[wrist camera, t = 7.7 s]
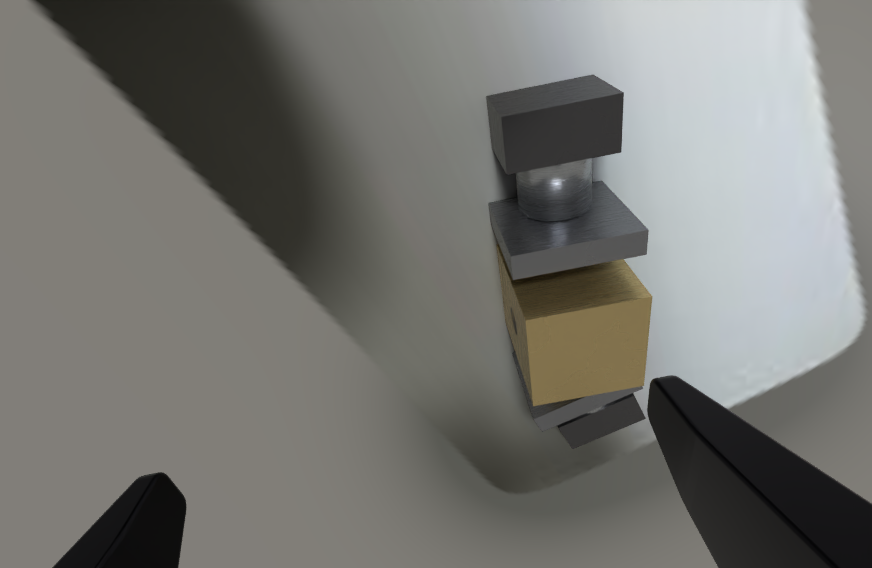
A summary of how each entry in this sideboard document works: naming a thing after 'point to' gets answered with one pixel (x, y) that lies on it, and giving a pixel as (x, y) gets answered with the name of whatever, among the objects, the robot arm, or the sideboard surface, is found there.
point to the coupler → (578, 329)
